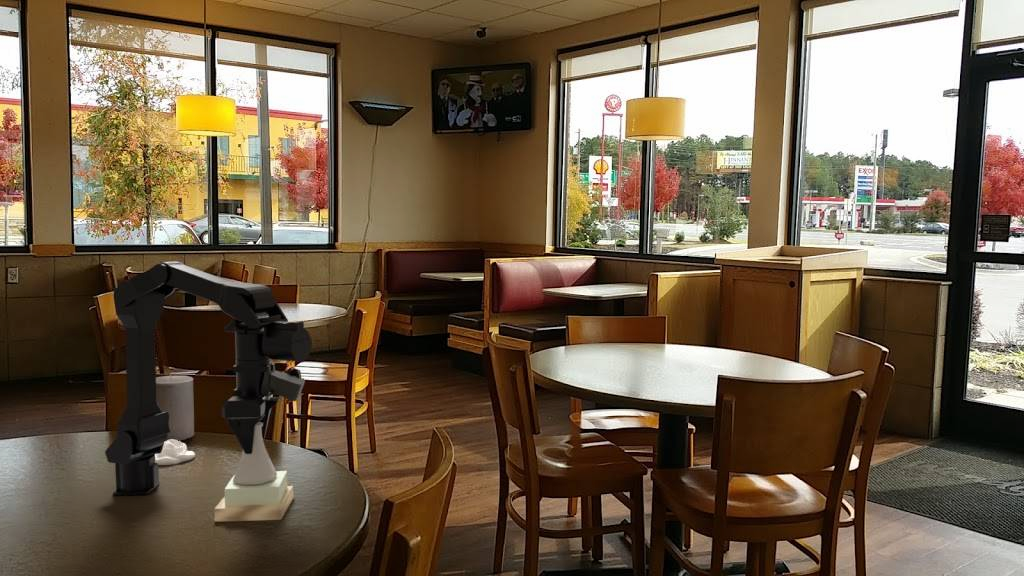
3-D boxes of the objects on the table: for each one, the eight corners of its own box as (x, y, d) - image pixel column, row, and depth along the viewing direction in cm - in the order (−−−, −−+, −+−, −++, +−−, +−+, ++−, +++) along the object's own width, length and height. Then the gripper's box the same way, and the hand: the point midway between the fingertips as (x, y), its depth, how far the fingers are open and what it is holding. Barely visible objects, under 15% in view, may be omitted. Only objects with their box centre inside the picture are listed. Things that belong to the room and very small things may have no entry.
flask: (262, 488, 139) (260, 430, 138) (224, 484, 140) (222, 427, 140) (284, 474, 146) (282, 419, 145) (248, 471, 147) (246, 417, 147)
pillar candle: (141, 440, 188) (139, 376, 186) (165, 430, 197) (164, 369, 196) (180, 443, 186) (178, 378, 185) (202, 432, 196) (201, 370, 194)
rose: (150, 435, 177) (198, 432, 179) (151, 455, 177) (198, 452, 180) (141, 447, 167) (191, 444, 170) (141, 468, 168) (192, 465, 170)
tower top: (225, 506, 138) (224, 489, 138) (236, 489, 147) (235, 472, 147) (279, 503, 140) (278, 486, 139) (287, 487, 148) (286, 470, 148)
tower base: (214, 526, 138) (214, 508, 137) (232, 503, 148) (231, 487, 148) (281, 524, 138) (280, 506, 138) (293, 501, 149) (293, 485, 149)
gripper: (290, 367, 133) (291, 461, 134) (309, 349, 151) (310, 431, 152) (219, 367, 132) (222, 462, 133) (248, 349, 150) (250, 432, 152)
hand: (255, 446), depth 143 cm, fingers open, 9 cm apart
